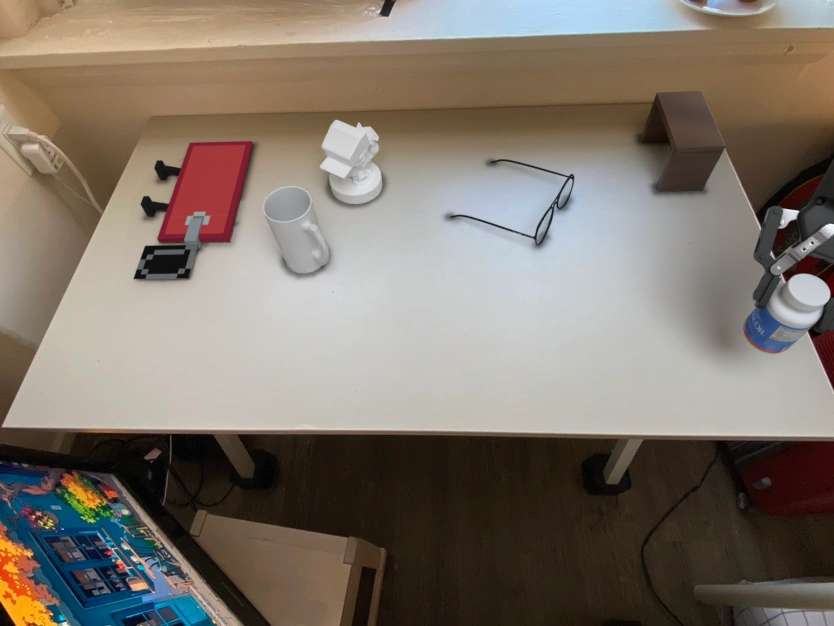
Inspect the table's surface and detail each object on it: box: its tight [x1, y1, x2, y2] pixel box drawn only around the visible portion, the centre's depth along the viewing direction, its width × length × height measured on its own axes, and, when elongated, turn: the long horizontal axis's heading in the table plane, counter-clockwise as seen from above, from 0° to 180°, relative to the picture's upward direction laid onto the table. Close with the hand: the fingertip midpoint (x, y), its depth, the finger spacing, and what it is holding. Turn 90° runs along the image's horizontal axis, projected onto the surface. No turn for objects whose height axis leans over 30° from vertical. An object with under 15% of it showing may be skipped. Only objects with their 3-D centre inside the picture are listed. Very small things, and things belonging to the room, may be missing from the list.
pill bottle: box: [742, 273, 831, 355], centre depth 61 cm, size 6×5×10 cm
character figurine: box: [319, 119, 383, 205], centre depth 89 cm, size 9×10×12 cm
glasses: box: [449, 158, 575, 247], centre depth 88 cm, size 14×15×5 cm
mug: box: [262, 185, 330, 274], centre depth 80 cm, size 10×7×12 cm, turn 48°
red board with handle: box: [132, 140, 254, 280], centre depth 92 cm, size 30×3×15 cm
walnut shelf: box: [640, 89, 727, 193], centre depth 89 cm, size 13×7×9 cm, turn 0°
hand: (788, 318), depth 59 cm, fingers closed on pill bottle, 5 cm apart
